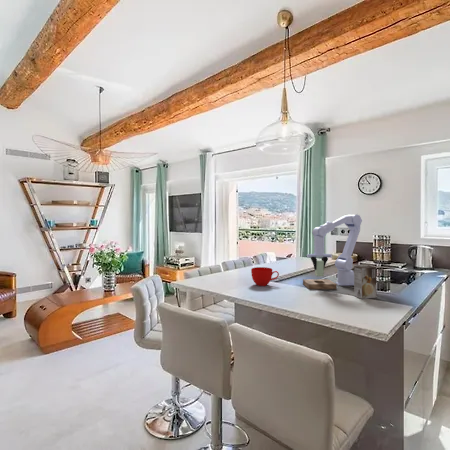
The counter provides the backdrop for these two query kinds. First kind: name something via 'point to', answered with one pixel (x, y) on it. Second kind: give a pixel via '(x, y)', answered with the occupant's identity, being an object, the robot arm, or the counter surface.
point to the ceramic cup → (262, 275)
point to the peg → (319, 268)
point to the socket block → (319, 284)
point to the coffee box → (365, 282)
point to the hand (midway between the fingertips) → (319, 269)
